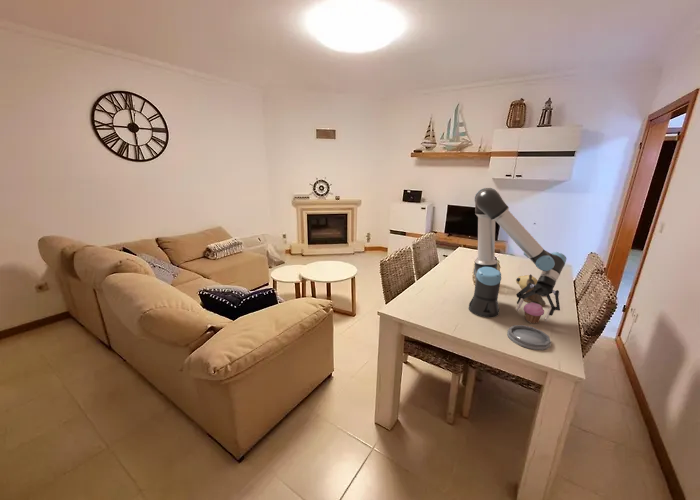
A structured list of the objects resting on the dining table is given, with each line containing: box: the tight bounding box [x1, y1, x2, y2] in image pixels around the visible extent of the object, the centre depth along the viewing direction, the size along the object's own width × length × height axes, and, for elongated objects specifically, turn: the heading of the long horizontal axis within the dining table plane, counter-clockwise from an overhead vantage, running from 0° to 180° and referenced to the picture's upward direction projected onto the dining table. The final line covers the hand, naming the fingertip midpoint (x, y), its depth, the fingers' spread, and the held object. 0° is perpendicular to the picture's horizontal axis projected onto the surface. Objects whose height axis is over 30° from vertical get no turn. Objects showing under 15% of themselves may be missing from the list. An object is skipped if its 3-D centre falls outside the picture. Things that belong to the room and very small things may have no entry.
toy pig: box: [515, 274, 538, 290], centre depth 184 cm, size 10×12×11 cm
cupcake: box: [522, 302, 545, 324], centre depth 147 cm, size 9×9×10 cm
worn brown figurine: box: [523, 274, 546, 308], centre depth 168 cm, size 12×6×18 cm, turn 36°
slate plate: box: [506, 324, 552, 351], centre depth 133 cm, size 17×17×2 cm
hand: (530, 314), depth 146 cm, fingers open, 12 cm apart
